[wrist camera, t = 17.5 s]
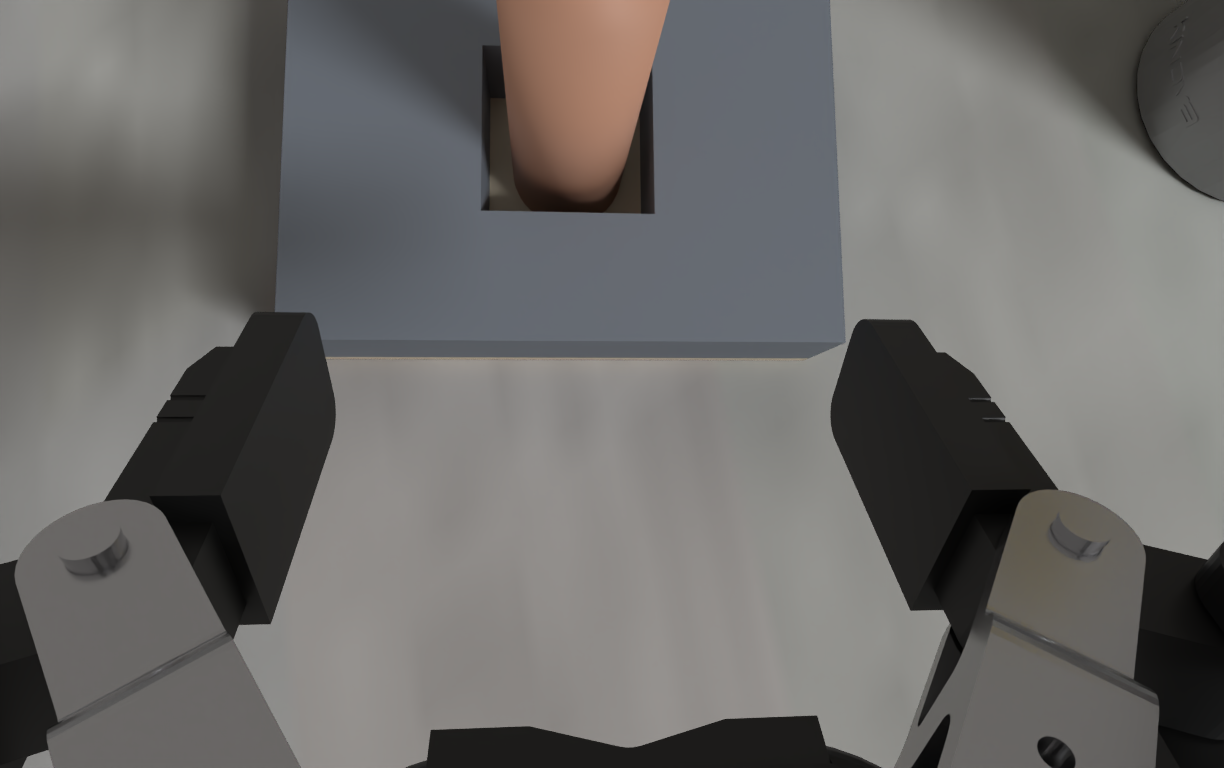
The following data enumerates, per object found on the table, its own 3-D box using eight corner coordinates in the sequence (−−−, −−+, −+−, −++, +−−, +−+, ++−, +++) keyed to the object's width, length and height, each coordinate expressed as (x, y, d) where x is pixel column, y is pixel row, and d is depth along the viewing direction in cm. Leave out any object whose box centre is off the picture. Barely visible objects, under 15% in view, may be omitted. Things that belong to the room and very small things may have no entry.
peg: (619, 123, 28) (675, -130, 16) (621, 225, 28) (681, 42, 16) (513, 120, 28) (491, -140, 16) (513, 224, 27) (491, 35, 16)
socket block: (790, 14, 30) (827, -56, 26) (803, 360, 28) (845, 342, 24) (327, -7, 28) (291, -84, 24) (314, 358, 27) (273, 339, 23)
